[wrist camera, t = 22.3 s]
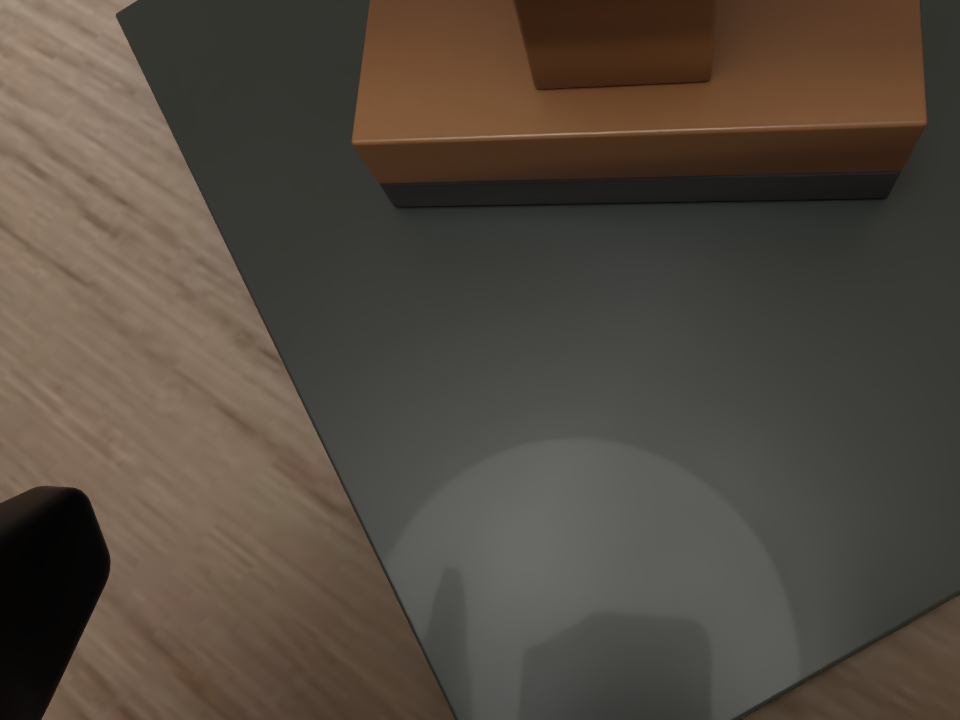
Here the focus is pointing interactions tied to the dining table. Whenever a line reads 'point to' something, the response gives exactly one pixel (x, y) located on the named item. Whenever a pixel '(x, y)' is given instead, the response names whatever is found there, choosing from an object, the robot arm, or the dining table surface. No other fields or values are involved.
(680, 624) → the slate board
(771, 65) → the eraser
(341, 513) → the dining table surface
